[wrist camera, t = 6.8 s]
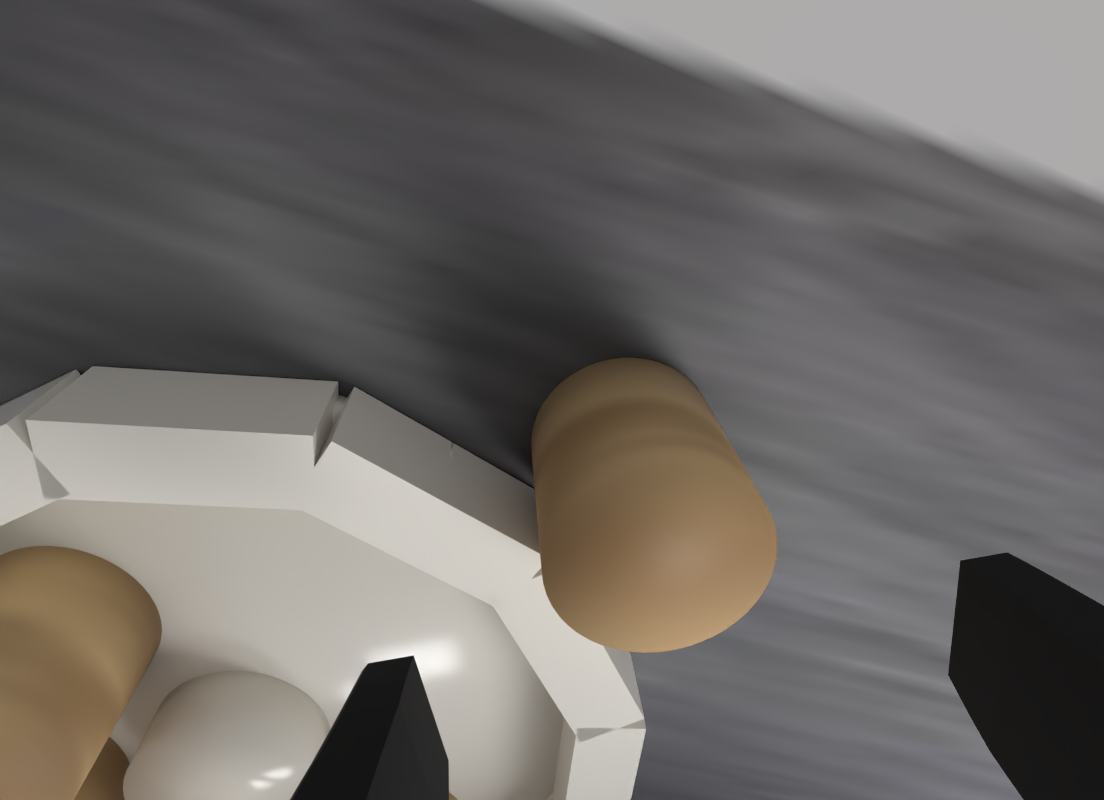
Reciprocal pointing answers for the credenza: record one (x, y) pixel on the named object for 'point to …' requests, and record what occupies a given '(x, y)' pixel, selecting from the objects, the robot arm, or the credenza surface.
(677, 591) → the bead
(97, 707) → the seated bead
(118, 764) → the seated bead
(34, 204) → the credenza surface
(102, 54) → the credenza surface
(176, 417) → the tray
